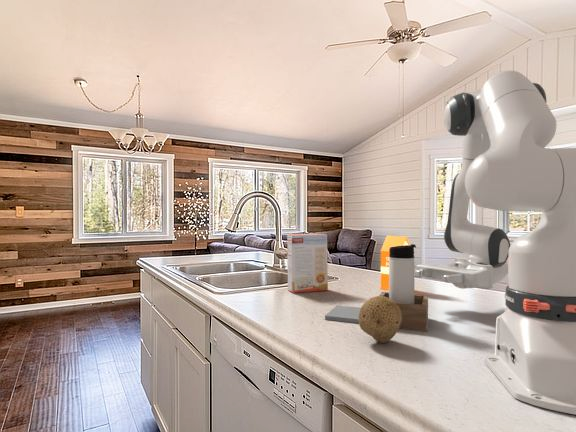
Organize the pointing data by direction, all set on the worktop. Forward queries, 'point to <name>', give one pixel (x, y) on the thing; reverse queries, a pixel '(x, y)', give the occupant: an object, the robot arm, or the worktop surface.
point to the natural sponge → (380, 318)
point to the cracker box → (307, 262)
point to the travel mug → (401, 273)
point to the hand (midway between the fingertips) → (430, 276)
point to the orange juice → (389, 242)
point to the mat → (344, 314)
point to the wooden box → (413, 313)
